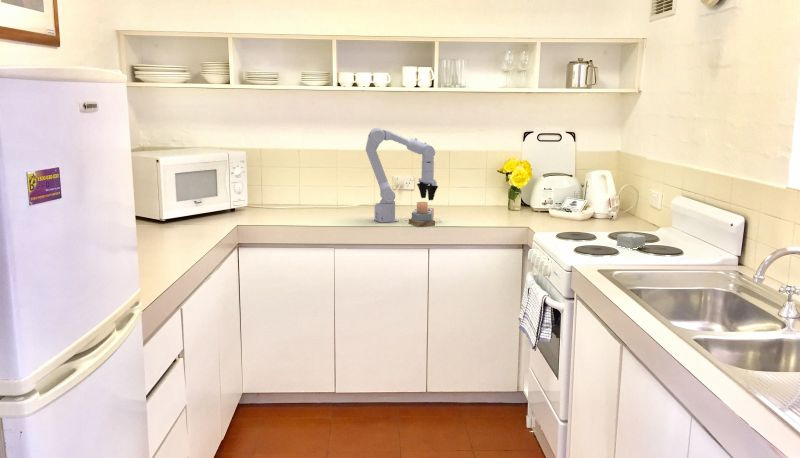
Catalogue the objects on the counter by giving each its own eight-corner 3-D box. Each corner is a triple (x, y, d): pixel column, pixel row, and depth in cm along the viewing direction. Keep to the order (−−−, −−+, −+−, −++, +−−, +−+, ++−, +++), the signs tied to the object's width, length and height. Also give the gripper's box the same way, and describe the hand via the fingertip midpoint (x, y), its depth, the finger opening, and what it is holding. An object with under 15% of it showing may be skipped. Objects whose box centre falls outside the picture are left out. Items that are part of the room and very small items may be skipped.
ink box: (433, 207, 331) (430, 211, 320) (433, 217, 332) (429, 222, 321) (416, 207, 333) (412, 211, 322) (416, 217, 334) (412, 221, 322)
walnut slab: (417, 228, 308) (417, 221, 308) (408, 225, 316) (408, 218, 315) (434, 227, 312) (435, 220, 311) (425, 223, 320) (425, 217, 319)
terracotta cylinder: (420, 214, 310) (420, 203, 309) (414, 212, 314) (414, 202, 313) (429, 213, 312) (429, 202, 311) (424, 212, 316) (424, 201, 315)
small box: (629, 244, 276) (630, 232, 275) (645, 248, 269) (646, 235, 268) (616, 246, 272) (617, 234, 271) (631, 250, 265) (632, 237, 264)
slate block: (418, 221, 309) (418, 214, 308) (411, 218, 315) (411, 212, 315) (431, 220, 312) (431, 214, 311) (425, 218, 318) (425, 211, 317)
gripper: (442, 171, 316) (441, 200, 318) (427, 168, 329) (427, 196, 331) (429, 172, 313) (428, 201, 315) (415, 169, 326) (414, 197, 328)
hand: (427, 199), depth 323 cm, fingers open, 7 cm apart
